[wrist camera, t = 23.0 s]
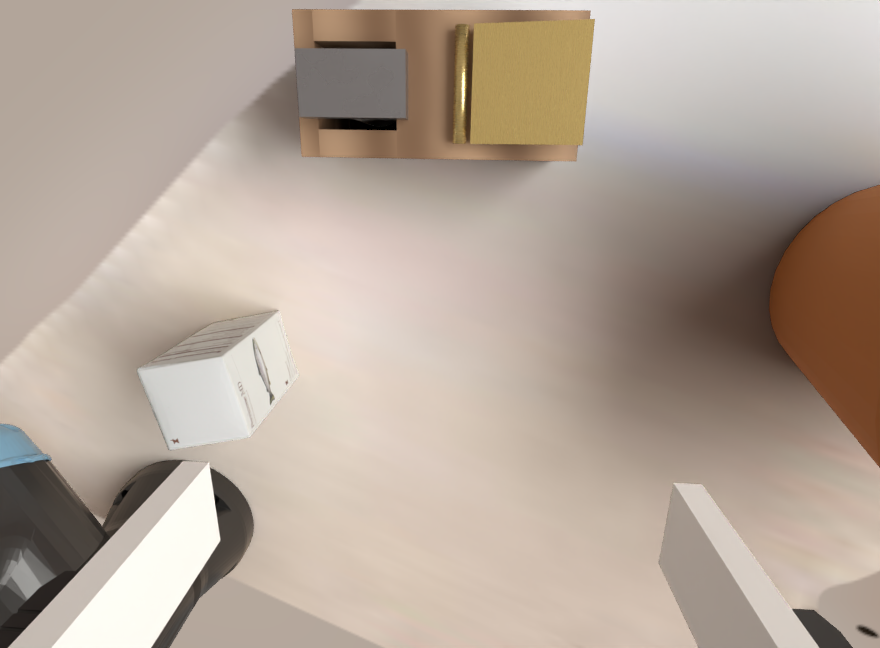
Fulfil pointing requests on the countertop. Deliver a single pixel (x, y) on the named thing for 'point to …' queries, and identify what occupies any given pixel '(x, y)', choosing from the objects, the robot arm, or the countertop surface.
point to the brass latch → (523, 82)
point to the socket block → (413, 83)
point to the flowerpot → (836, 310)
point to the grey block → (353, 84)
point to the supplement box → (220, 381)
